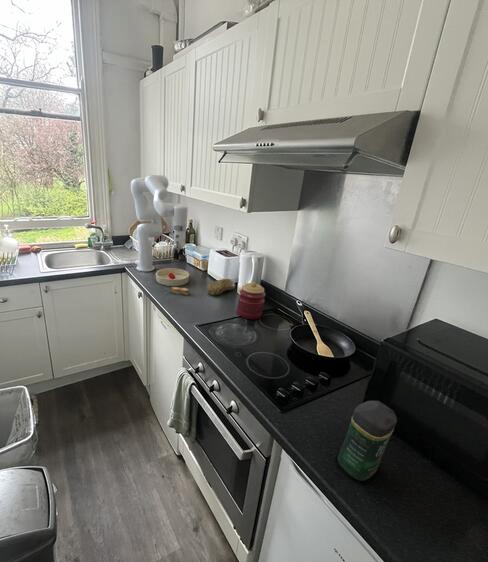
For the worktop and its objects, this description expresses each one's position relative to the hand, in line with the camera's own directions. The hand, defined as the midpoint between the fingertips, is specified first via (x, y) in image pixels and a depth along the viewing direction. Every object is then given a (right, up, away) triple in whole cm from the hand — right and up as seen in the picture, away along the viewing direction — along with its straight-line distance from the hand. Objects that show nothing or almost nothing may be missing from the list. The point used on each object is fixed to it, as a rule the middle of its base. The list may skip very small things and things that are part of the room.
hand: (178, 256), depth 174 cm
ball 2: (-5, -12, +16) cm, 20 cm away
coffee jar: (+53, -62, -97) cm, 127 cm away
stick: (+1, -21, -2) cm, 21 cm away
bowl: (-5, -14, +17) cm, 22 cm away
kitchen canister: (+38, -31, -21) cm, 53 cm away
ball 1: (-6, -11, +19) cm, 22 cm away
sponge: (+24, -21, +4) cm, 32 cm away
